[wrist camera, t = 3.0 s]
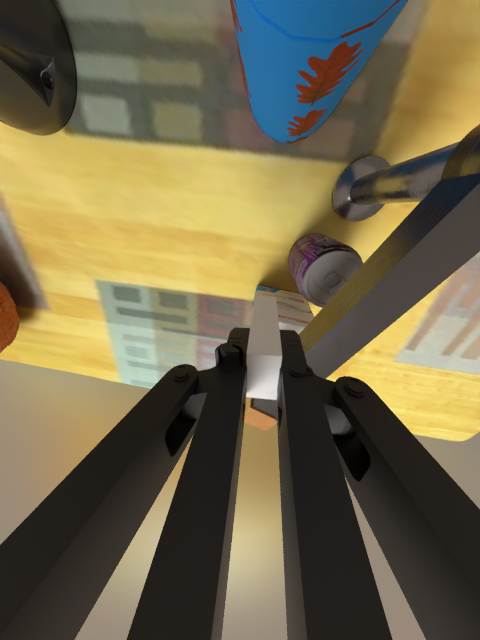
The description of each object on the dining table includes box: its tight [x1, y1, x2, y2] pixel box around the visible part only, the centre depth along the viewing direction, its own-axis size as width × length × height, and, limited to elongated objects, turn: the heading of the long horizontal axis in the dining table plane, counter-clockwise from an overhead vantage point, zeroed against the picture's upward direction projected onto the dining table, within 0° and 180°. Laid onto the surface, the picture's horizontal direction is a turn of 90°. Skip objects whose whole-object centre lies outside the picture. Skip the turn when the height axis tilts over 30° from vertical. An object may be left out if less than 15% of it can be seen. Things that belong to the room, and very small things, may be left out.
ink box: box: [250, 285, 314, 334], centre depth 30 cm, size 8×5×12 cm, turn 80°
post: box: [332, 142, 460, 221], centre depth 18 cm, size 7×7×16 cm
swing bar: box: [244, 124, 480, 432], centre depth 15 cm, size 28×4×4 cm, turn 150°
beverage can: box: [288, 234, 363, 308], centre depth 25 cm, size 7×7×12 cm
